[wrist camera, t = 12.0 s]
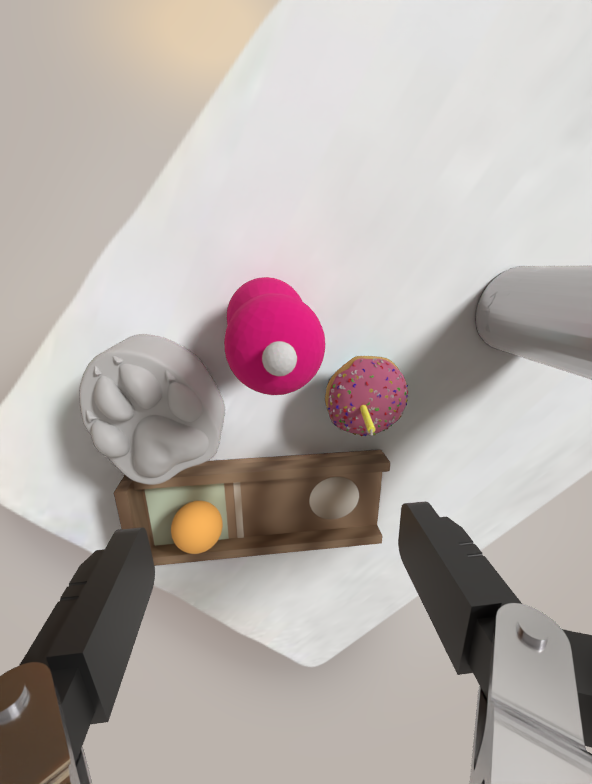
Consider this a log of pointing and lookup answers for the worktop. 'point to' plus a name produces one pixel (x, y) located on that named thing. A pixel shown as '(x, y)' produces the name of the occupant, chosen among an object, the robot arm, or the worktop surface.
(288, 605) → the worktop surface
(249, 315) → the pepper mill
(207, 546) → the ball
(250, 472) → the wooden tray
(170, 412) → the lumpy-topped squat cylinder
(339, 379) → the cupcake
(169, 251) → the worktop surface
